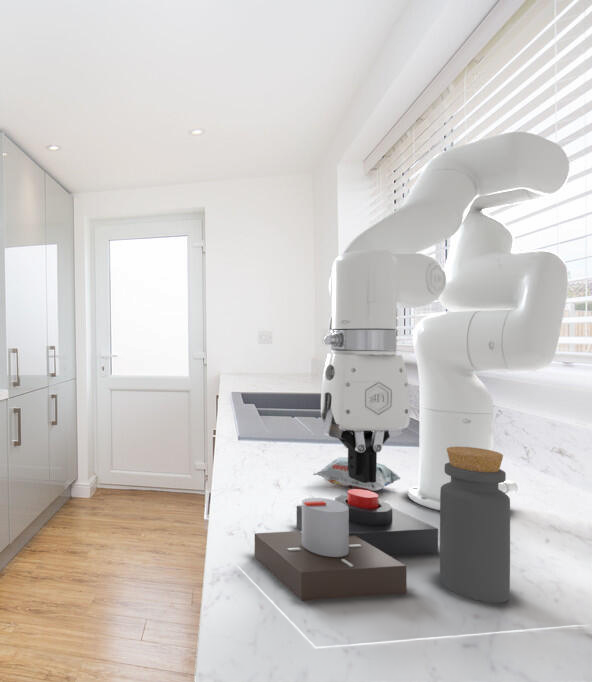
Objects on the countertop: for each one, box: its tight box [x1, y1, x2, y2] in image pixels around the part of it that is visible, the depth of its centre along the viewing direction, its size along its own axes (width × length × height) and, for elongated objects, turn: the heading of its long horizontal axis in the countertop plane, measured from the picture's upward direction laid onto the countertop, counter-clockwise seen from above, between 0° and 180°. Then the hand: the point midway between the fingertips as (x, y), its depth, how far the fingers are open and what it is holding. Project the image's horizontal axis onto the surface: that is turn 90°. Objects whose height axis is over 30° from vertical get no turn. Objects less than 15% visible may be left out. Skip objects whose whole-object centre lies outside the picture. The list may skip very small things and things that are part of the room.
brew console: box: [254, 530, 408, 602], centre depth 55 cm, size 12×10×3 cm
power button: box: [347, 488, 380, 509], centre depth 64 cm, size 4×4×2 cm
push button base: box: [296, 494, 439, 557], centre depth 64 cm, size 13×10×5 cm
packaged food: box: [312, 456, 401, 492], centre depth 87 cm, size 9×12×5 cm
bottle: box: [439, 447, 511, 604], centre depth 51 cm, size 6×6×15 cm
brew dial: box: [301, 497, 349, 557], centre depth 55 cm, size 5×5×5 cm
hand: (361, 479), depth 64 cm, fingers closed
